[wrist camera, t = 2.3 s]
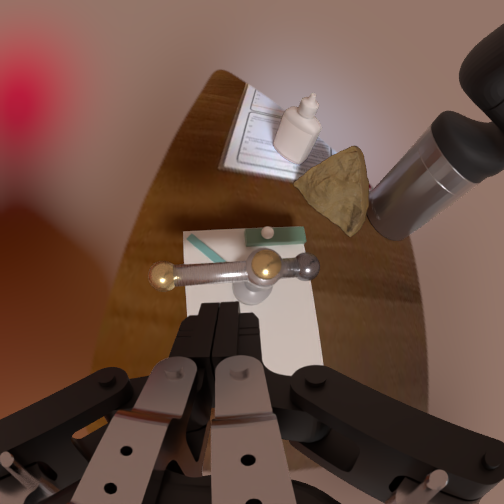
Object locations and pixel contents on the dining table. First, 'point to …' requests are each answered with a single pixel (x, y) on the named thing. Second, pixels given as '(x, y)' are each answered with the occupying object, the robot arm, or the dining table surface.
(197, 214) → the dining table surface
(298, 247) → the stand
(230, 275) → the crank handle
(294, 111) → the eye dropper bottle
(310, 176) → the rock
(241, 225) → the dining table surface
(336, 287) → the dining table surface
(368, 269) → the dining table surface
